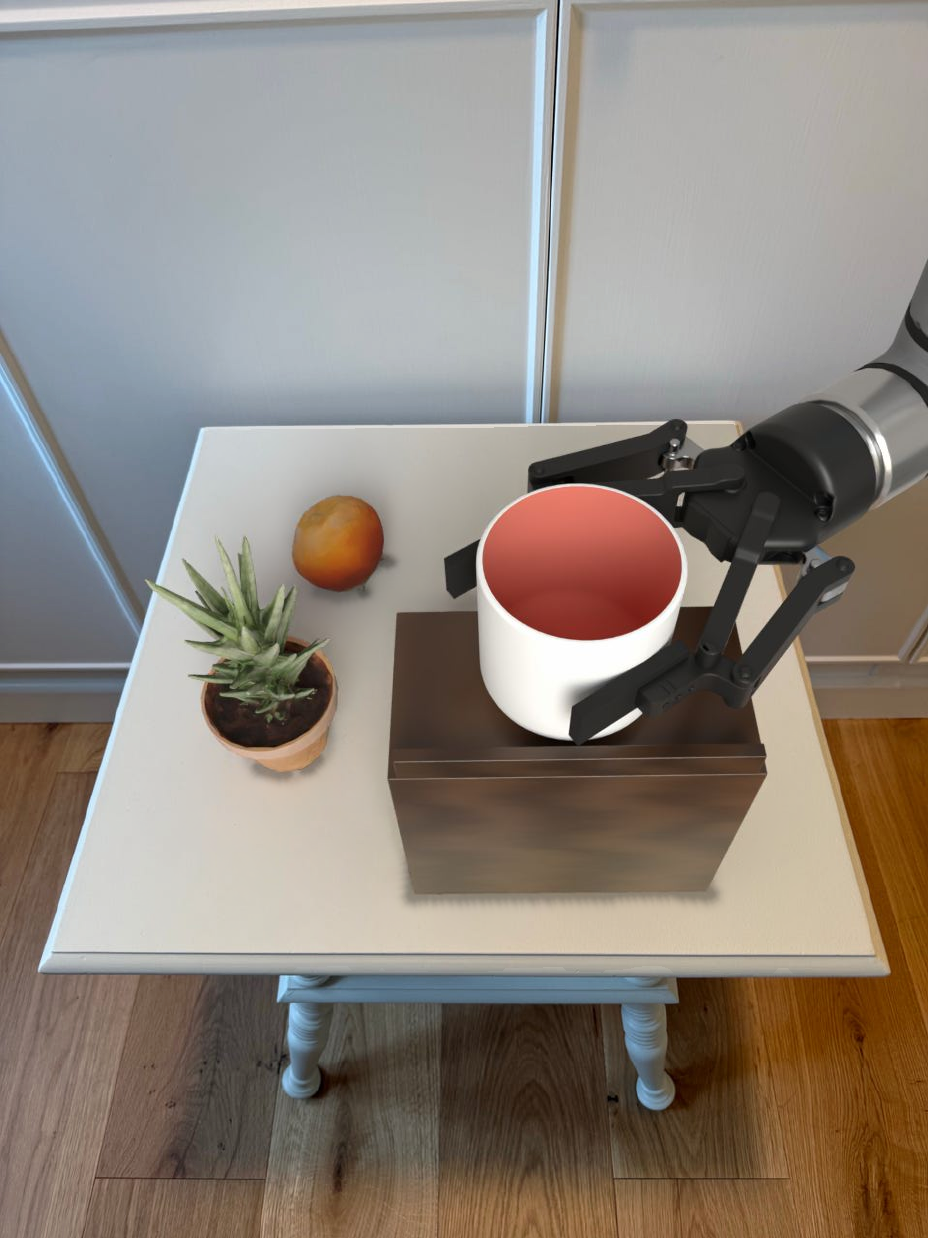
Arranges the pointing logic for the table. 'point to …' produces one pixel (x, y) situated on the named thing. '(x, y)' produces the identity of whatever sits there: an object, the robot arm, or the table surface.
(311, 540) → the fruit
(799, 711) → the table surface
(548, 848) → the brown lidded box
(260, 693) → the potted plant
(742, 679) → the robot arm
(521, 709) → the cup
